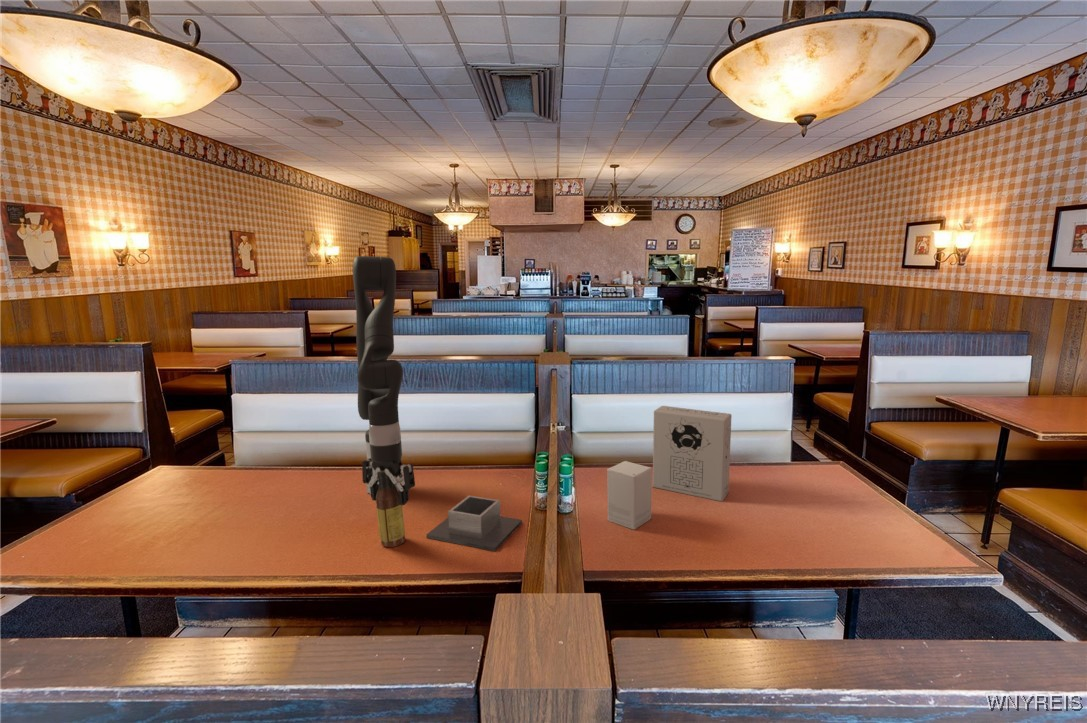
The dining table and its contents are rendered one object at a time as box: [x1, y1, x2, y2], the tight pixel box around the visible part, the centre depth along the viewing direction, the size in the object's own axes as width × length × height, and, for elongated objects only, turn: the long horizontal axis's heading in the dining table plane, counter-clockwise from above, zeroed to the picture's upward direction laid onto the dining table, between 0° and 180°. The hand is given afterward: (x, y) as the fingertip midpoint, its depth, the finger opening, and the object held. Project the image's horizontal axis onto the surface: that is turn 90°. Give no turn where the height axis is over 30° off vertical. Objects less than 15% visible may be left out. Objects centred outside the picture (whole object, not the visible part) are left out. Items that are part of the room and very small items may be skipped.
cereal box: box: [652, 405, 732, 502], centre depth 164 cm, size 22×8×25 cm, turn 58°
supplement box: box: [606, 460, 653, 531], centre depth 146 cm, size 9×9×15 cm
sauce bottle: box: [375, 470, 406, 548], centre depth 135 cm, size 7×6×20 cm
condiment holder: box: [426, 495, 523, 552], centre depth 142 cm, size 20×16×7 cm
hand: (389, 501), depth 135 cm, fingers open, 8 cm apart
